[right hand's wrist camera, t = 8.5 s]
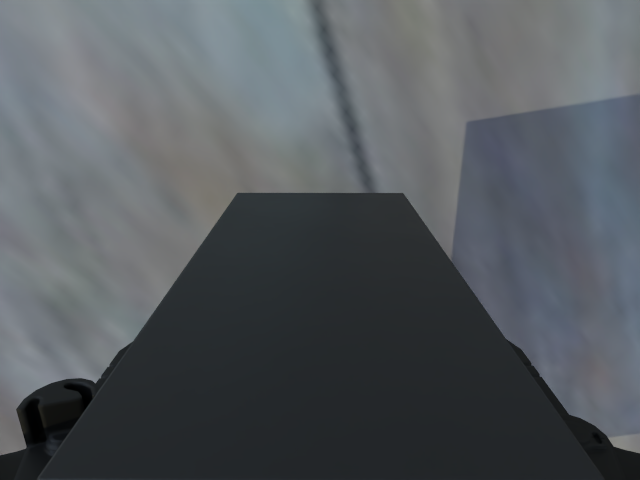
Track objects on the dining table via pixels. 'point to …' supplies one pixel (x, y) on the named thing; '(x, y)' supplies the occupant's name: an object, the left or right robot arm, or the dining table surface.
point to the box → (320, 362)
